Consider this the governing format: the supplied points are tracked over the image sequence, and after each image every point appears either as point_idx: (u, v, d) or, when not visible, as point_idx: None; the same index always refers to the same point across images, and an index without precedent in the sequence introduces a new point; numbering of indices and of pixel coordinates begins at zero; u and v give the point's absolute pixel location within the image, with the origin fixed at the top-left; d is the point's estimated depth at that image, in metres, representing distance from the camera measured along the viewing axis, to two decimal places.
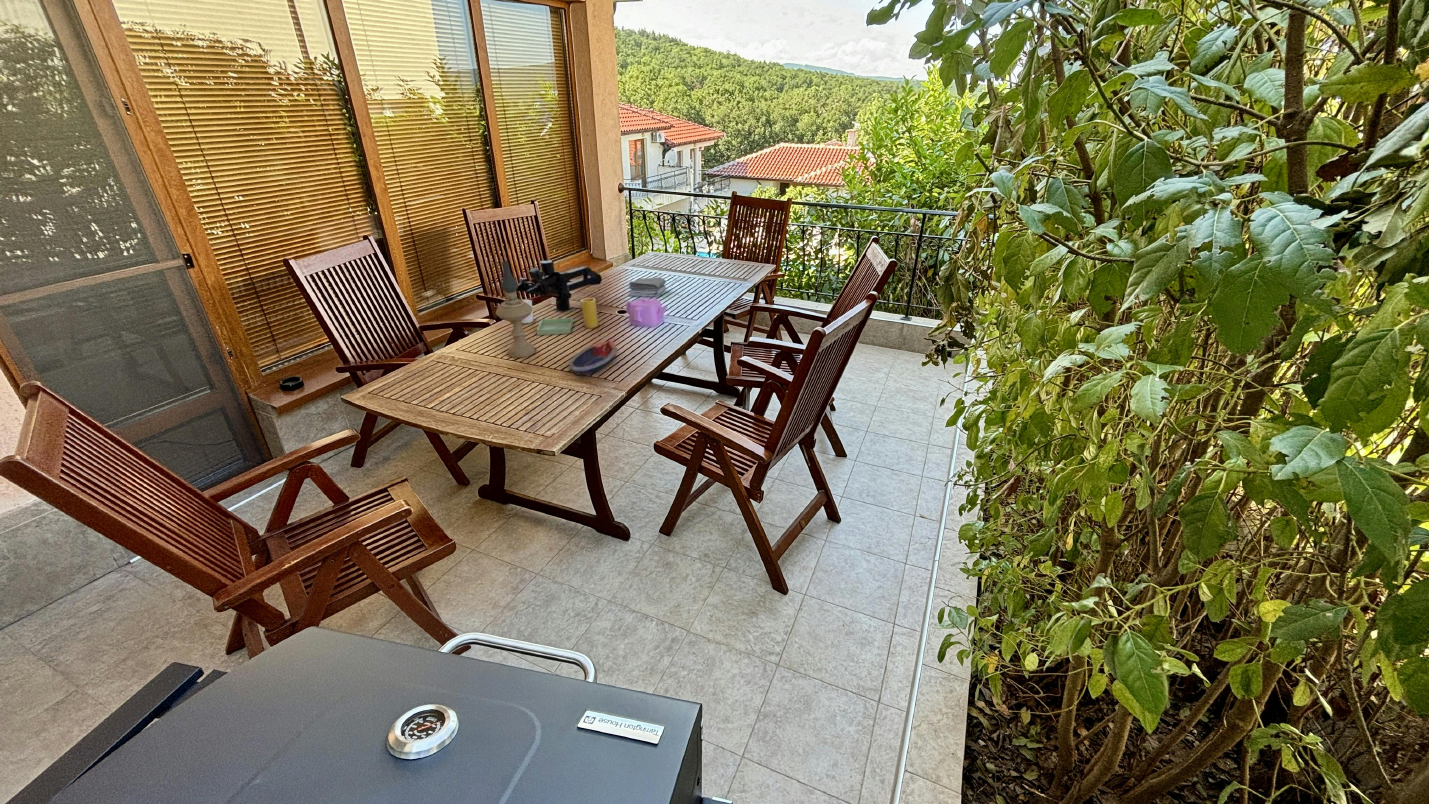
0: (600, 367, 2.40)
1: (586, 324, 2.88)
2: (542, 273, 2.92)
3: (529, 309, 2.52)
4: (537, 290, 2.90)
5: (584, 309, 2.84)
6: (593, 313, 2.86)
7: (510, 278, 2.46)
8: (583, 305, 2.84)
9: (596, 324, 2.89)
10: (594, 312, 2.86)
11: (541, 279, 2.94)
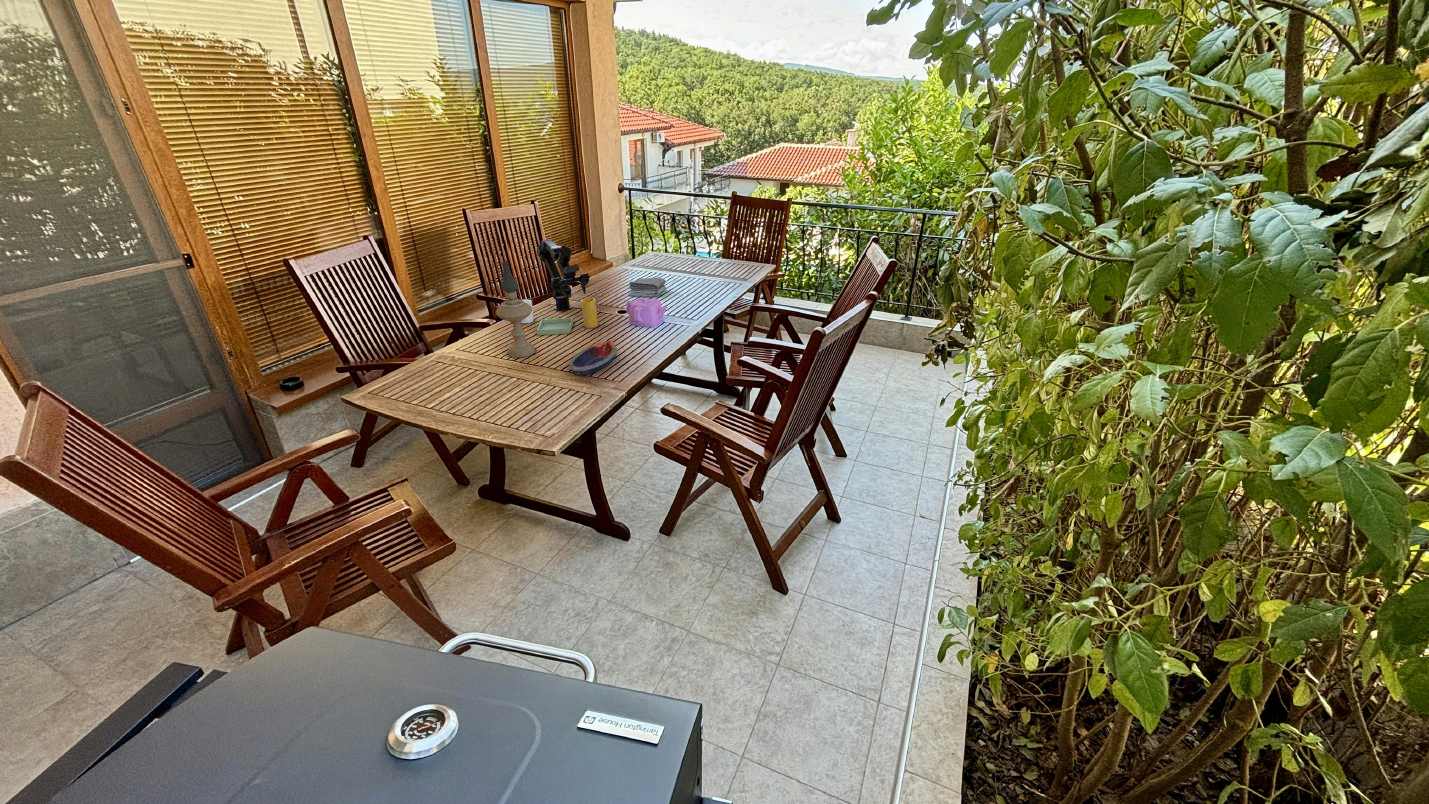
0: (600, 367, 2.40)
1: (586, 324, 2.88)
2: None
3: (529, 309, 2.52)
4: None
5: (584, 309, 2.84)
6: (593, 313, 2.86)
7: (510, 278, 2.46)
8: (583, 305, 2.84)
9: (596, 324, 2.89)
10: (594, 312, 2.86)
11: None
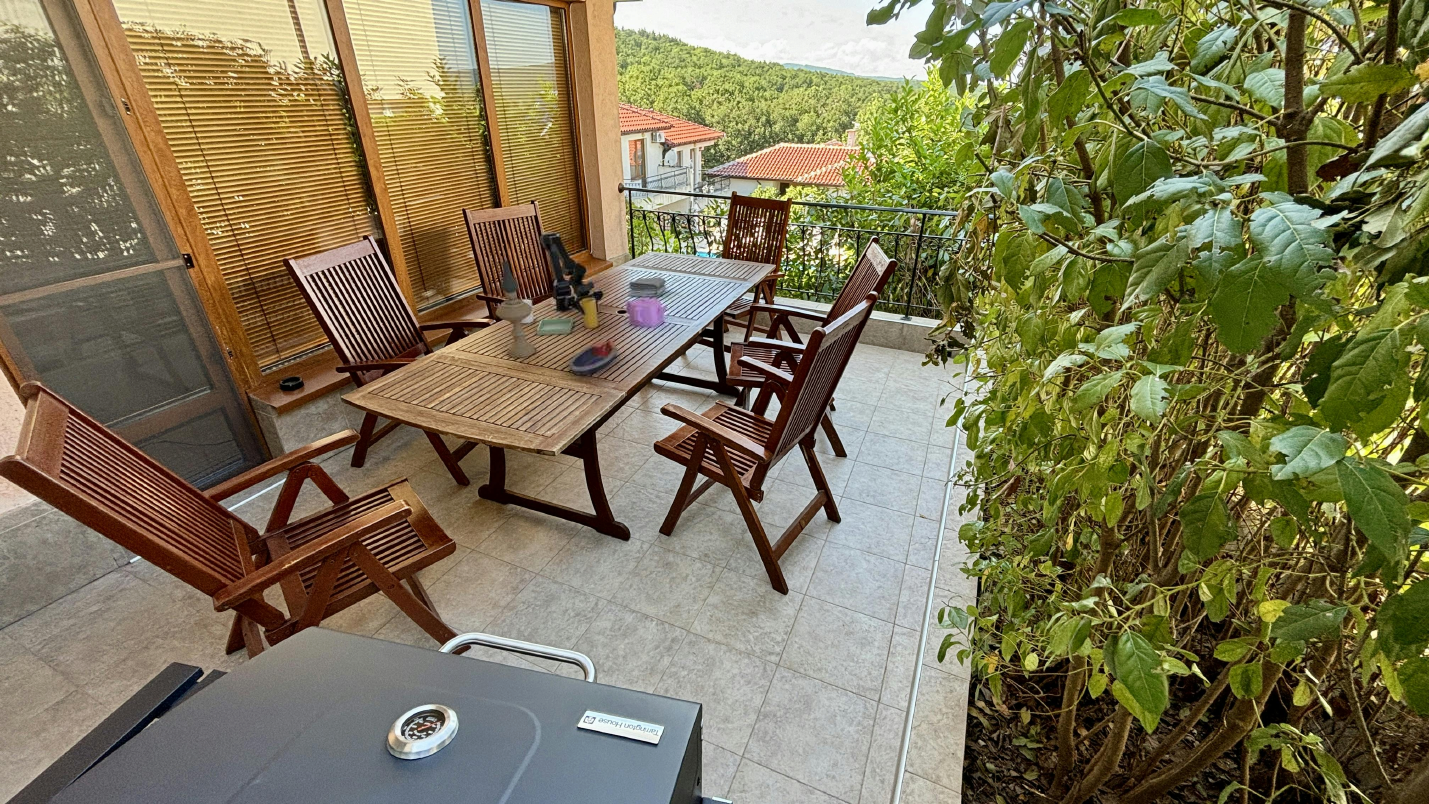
0: (600, 367, 2.40)
1: (586, 324, 2.88)
2: None
3: (529, 309, 2.52)
4: None
5: (584, 309, 2.84)
6: (593, 313, 2.86)
7: (510, 278, 2.46)
8: (583, 305, 2.84)
9: (596, 324, 2.89)
10: (594, 312, 2.86)
11: None
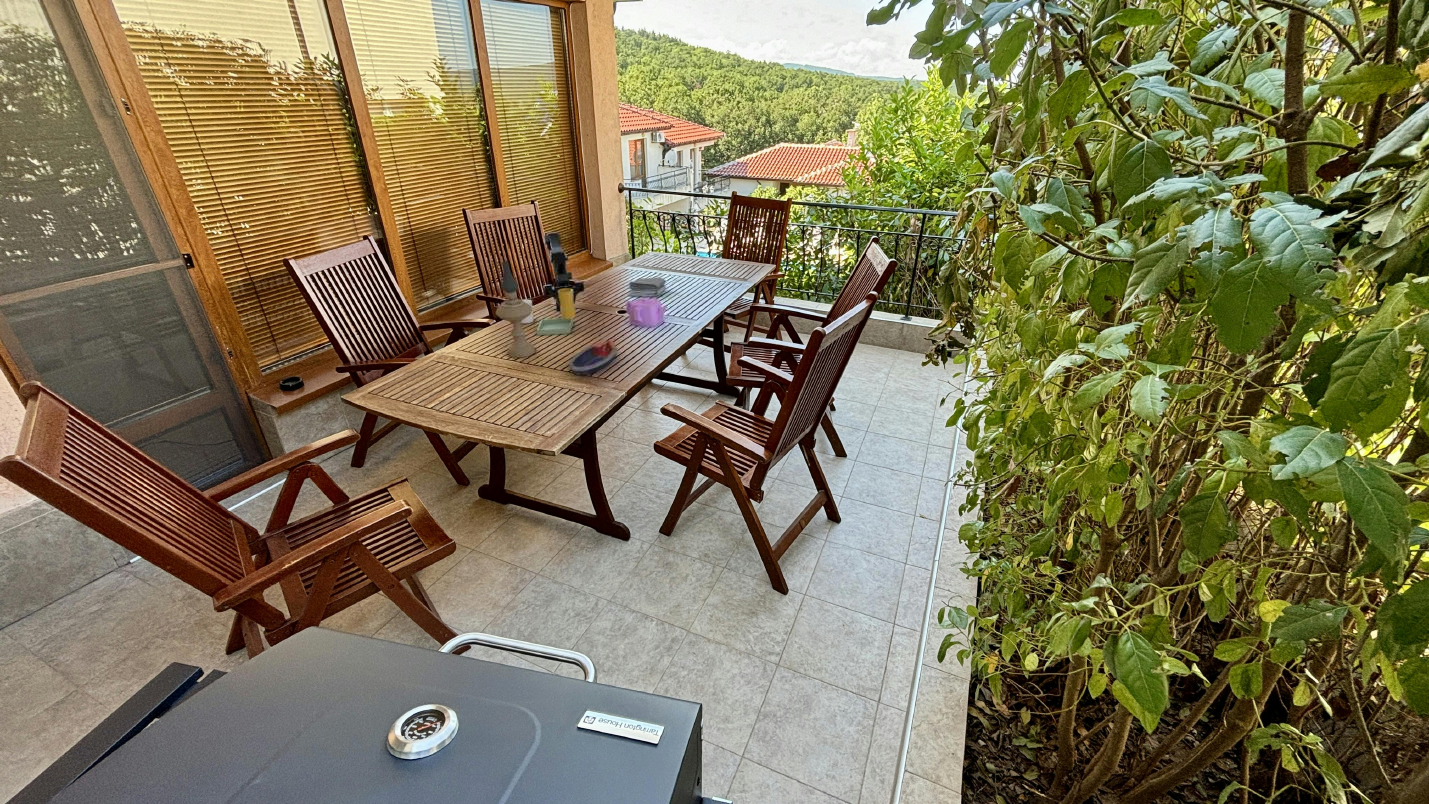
0: (600, 367, 2.40)
1: (562, 315, 2.83)
2: (571, 274, 2.80)
3: (529, 309, 2.52)
4: None
5: (559, 299, 2.80)
6: (568, 304, 2.80)
7: (510, 278, 2.46)
8: None
9: (572, 316, 2.83)
10: (569, 303, 2.80)
11: None
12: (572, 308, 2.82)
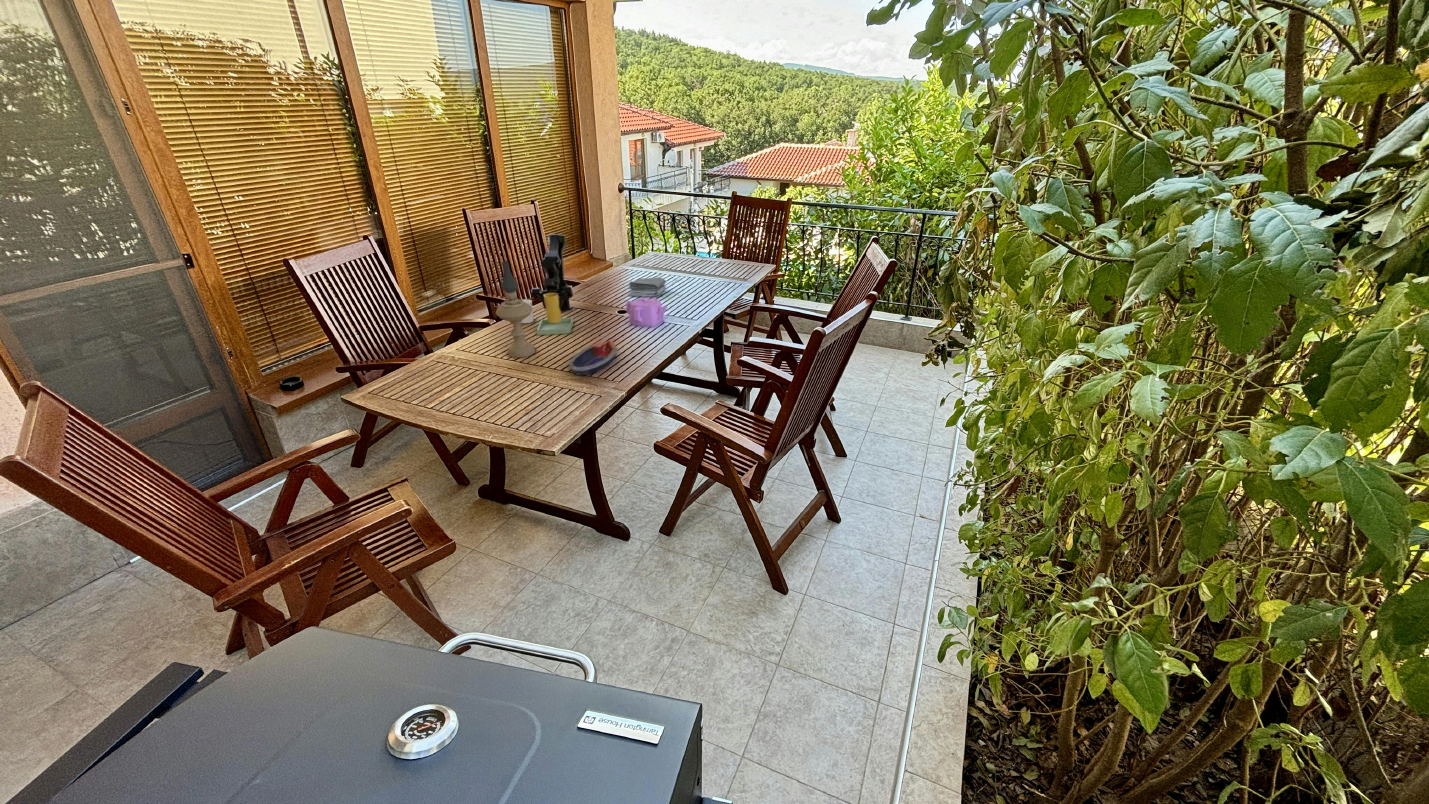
0: (600, 367, 2.40)
1: (547, 318, 2.85)
2: (558, 279, 2.80)
3: (529, 309, 2.52)
4: None
5: (545, 303, 2.81)
6: (552, 309, 2.81)
7: (510, 278, 2.46)
8: (544, 299, 2.81)
9: (556, 320, 2.84)
10: (553, 308, 2.81)
11: None
12: (557, 313, 2.83)
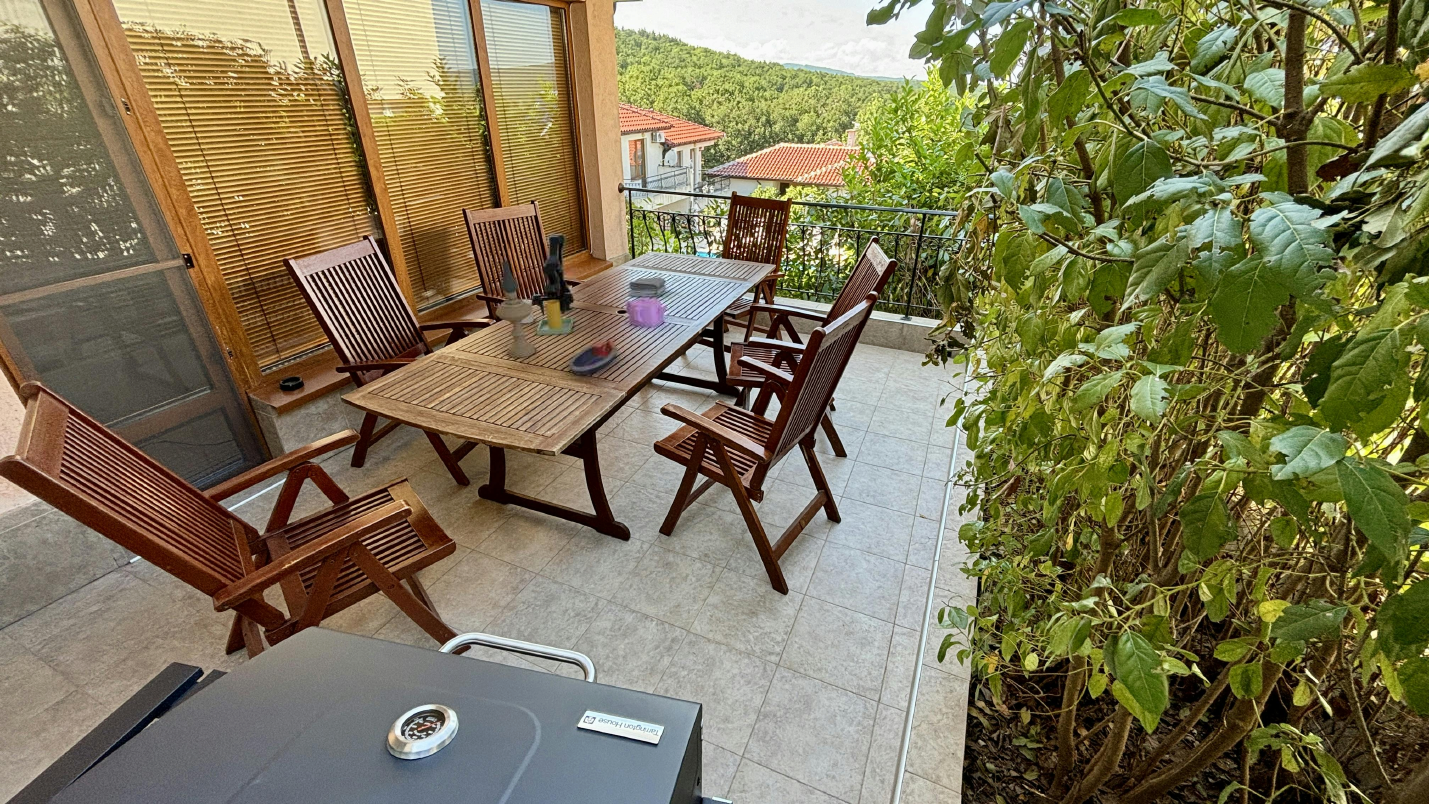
0: (600, 367, 2.40)
1: (548, 325, 2.86)
2: (559, 286, 2.81)
3: (529, 309, 2.52)
4: (565, 303, 2.86)
5: (546, 310, 2.83)
6: (553, 316, 2.82)
7: (510, 278, 2.46)
8: (545, 306, 2.82)
9: (557, 327, 2.85)
10: (554, 315, 2.82)
11: None
12: (558, 320, 2.84)
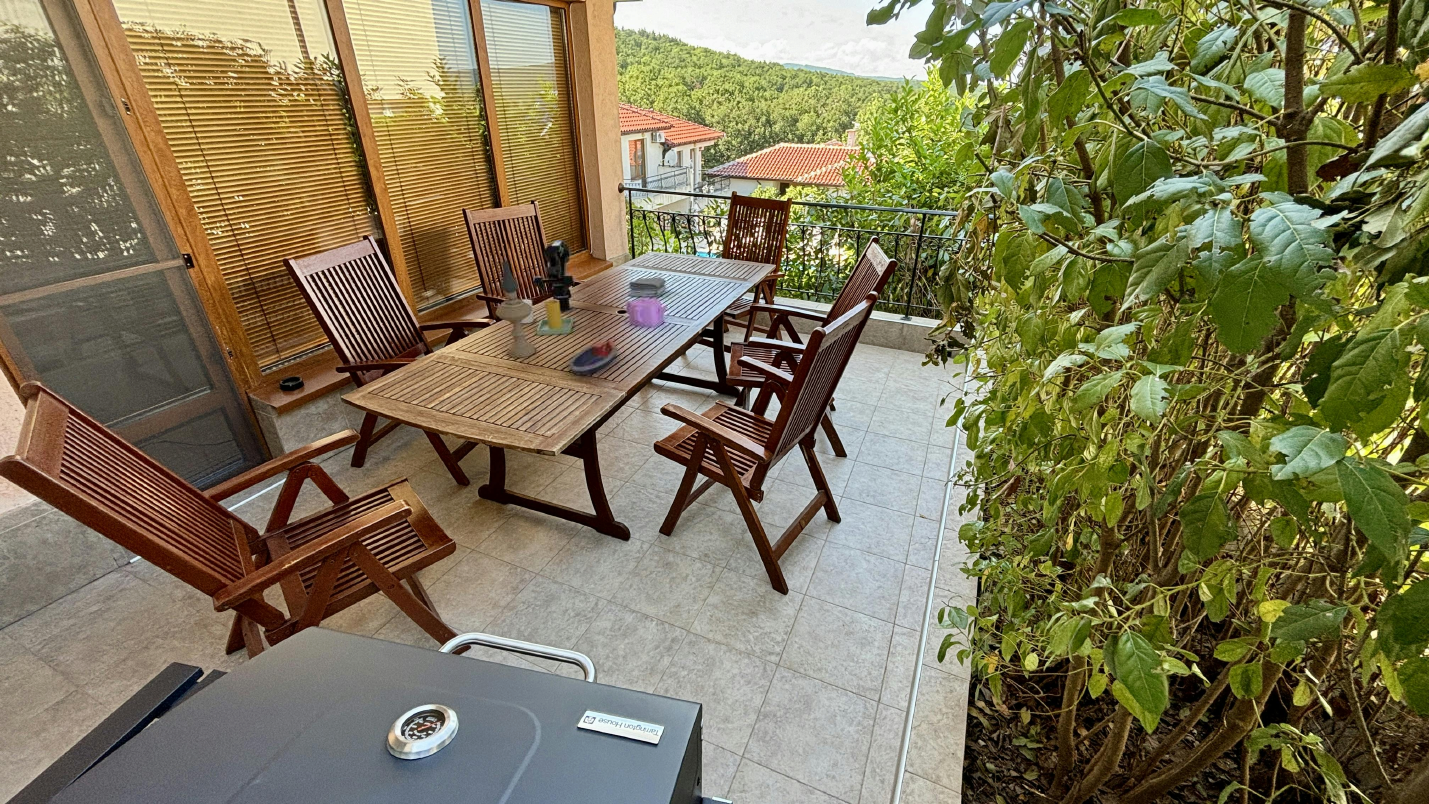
0: (600, 367, 2.40)
1: (548, 325, 2.86)
2: (560, 268, 2.87)
3: (529, 309, 2.52)
4: None
5: (546, 310, 2.83)
6: (553, 316, 2.82)
7: (510, 278, 2.46)
8: (545, 306, 2.82)
9: (557, 327, 2.85)
10: (554, 315, 2.82)
11: None
12: (558, 320, 2.84)
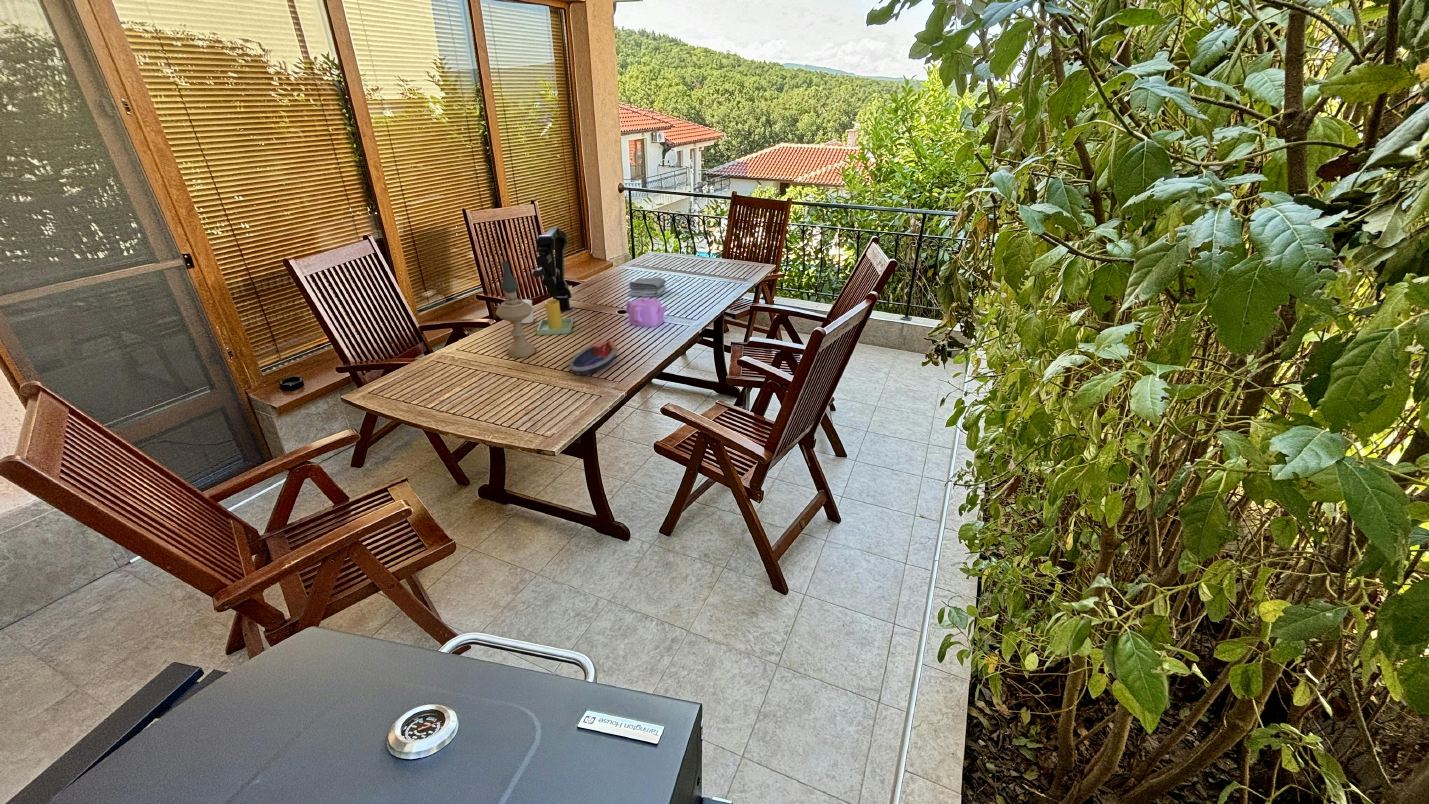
0: (600, 367, 2.40)
1: (548, 325, 2.86)
2: (535, 273, 2.86)
3: (529, 309, 2.52)
4: (550, 285, 2.88)
5: (546, 310, 2.83)
6: (553, 316, 2.82)
7: (510, 278, 2.46)
8: (545, 306, 2.82)
9: (557, 327, 2.85)
10: (554, 315, 2.82)
11: (542, 271, 2.88)
12: (558, 320, 2.84)
